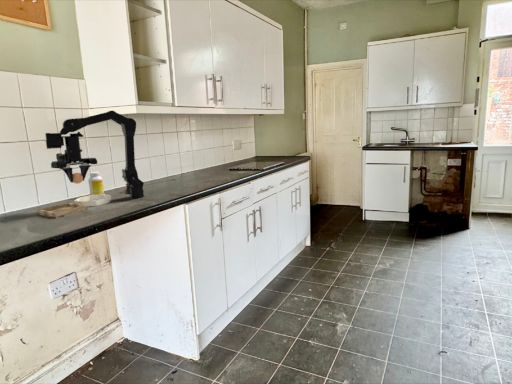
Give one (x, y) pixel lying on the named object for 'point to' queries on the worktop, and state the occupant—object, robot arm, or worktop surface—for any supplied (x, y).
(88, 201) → the bowl
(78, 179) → the ball
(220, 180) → the worktop surface
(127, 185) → the pottery mug
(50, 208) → the tray
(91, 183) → the supplement bottle
